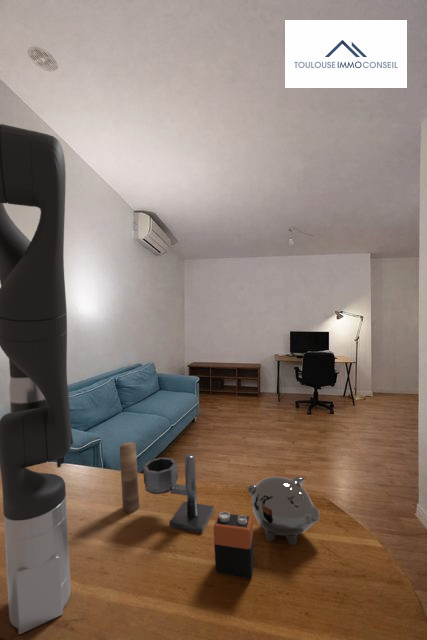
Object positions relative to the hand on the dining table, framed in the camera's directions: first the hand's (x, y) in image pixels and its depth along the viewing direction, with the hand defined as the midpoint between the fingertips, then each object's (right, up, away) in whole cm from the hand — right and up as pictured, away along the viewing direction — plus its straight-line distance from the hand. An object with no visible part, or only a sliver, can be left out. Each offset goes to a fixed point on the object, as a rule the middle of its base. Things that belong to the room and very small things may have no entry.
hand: (36, 471), depth 64 cm
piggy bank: (+52, -15, +3) cm, 55 cm away
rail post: (+16, -16, +14) cm, 27 cm away
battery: (+41, -16, -6) cm, 44 cm away
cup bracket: (+28, -16, +10) cm, 34 cm away
